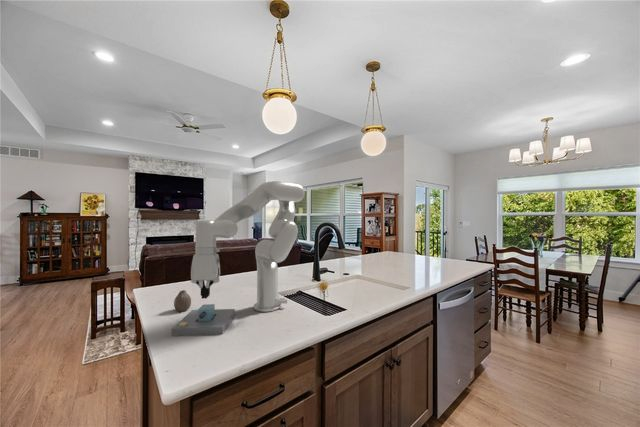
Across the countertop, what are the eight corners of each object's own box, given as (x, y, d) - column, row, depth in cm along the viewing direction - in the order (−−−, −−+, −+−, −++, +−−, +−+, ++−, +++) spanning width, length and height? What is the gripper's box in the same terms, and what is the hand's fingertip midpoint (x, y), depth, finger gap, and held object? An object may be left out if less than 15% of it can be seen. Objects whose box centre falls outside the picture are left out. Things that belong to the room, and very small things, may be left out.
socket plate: (234, 314, 113) (234, 307, 113) (222, 333, 95) (222, 324, 95) (192, 315, 112) (192, 308, 112) (171, 335, 94) (171, 326, 94)
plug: (214, 321, 107) (214, 304, 107) (207, 329, 99) (207, 311, 99) (203, 321, 106) (203, 304, 106) (195, 330, 98) (195, 311, 98)
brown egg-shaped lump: (170, 312, 116) (170, 292, 116) (183, 306, 123) (183, 288, 123) (182, 314, 114) (182, 294, 114) (194, 308, 121) (194, 289, 121)
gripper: (227, 250, 108) (227, 294, 108) (190, 249, 107) (189, 294, 107) (222, 252, 100) (221, 300, 100) (182, 252, 99) (181, 300, 99)
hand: (205, 297), depth 103 cm, fingers closed
